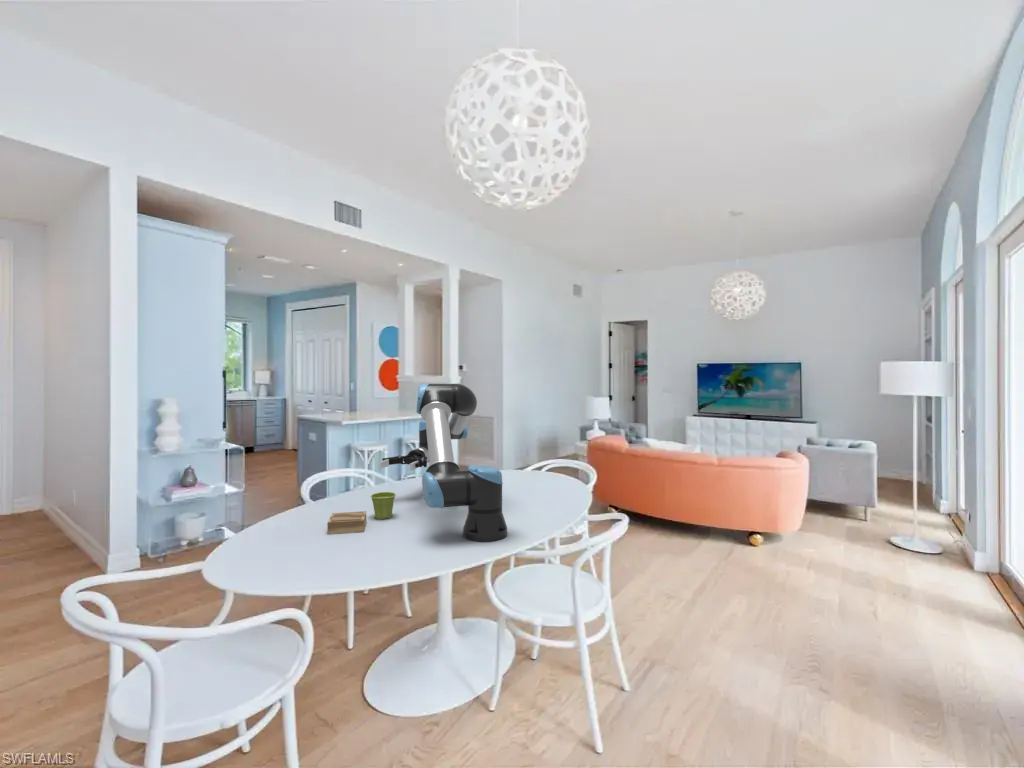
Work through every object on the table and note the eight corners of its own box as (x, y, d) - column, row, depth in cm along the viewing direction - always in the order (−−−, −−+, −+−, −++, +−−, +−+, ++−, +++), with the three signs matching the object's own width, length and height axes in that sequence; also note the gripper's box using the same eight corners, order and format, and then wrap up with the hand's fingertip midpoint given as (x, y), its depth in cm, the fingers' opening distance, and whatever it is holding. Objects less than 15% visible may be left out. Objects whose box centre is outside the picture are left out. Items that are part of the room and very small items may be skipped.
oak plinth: (363, 531, 175) (363, 519, 175) (327, 534, 173) (327, 521, 173) (366, 521, 187) (366, 510, 187) (332, 524, 185) (332, 512, 184)
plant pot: (389, 521, 188) (389, 498, 187) (366, 520, 190) (366, 497, 189) (400, 514, 197) (399, 492, 197) (377, 513, 199) (377, 491, 199)
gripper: (444, 467, 220) (423, 477, 200) (392, 464, 226) (367, 473, 206) (444, 449, 220) (423, 458, 199) (392, 447, 226) (367, 455, 206)
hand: (395, 466), depth 203 cm, fingers open, 13 cm apart
